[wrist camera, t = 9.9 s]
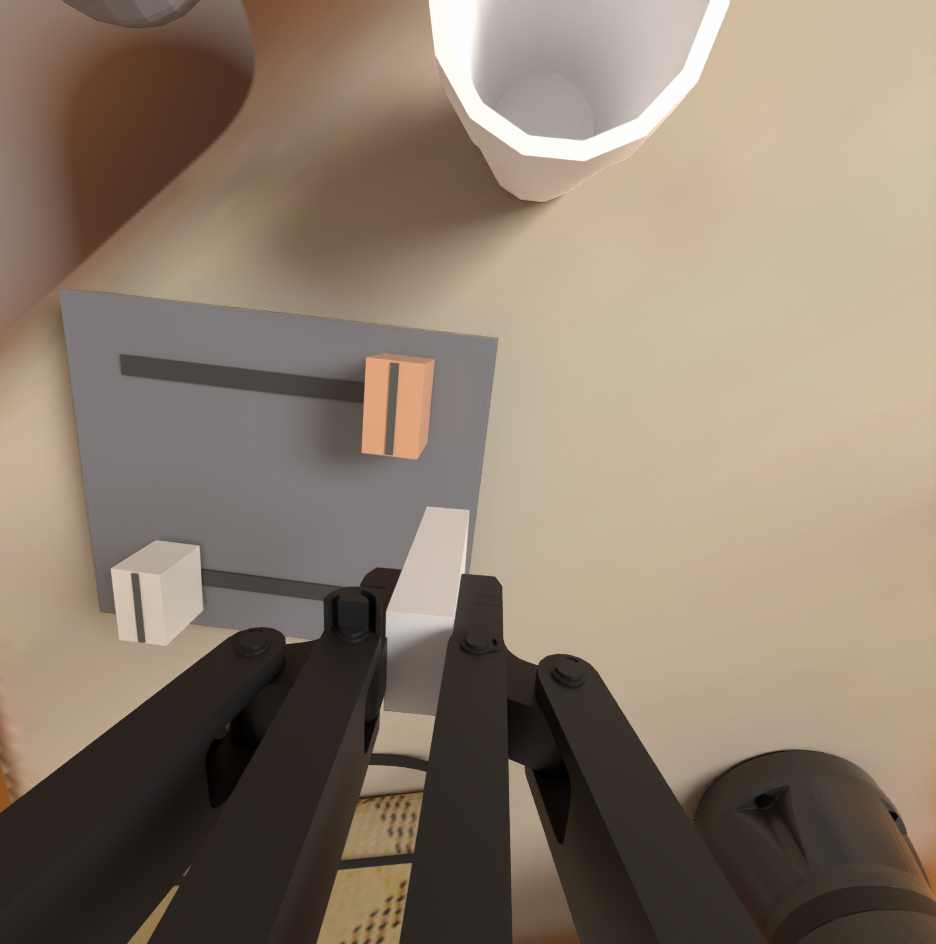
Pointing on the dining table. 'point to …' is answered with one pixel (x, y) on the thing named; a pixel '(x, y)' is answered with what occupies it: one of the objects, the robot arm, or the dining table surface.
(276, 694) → the robot arm
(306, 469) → the slider panel
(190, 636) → the dining table surface
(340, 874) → the clutch purse
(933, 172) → the dining table surface
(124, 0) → the coffee pot
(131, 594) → the fader
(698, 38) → the foam cup
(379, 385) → the fader
